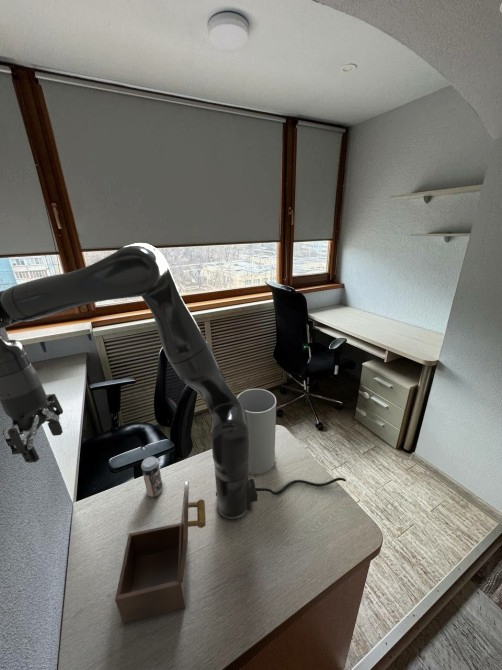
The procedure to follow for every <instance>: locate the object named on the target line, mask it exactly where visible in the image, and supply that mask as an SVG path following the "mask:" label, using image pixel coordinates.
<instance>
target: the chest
mask: <svg viewBox="0 0 502 670" xmlns="http://www.w3.org/2000/svg"><path fill="white" fill-rule="evenodd" d="M180 535H181V522H179V523H178V522H177V523H173V524H168V525H163V526H158V527H153V528H149V529H144V530H138V531H135V532H130V533H128V535H127V539H126V540H127V541H126V544H125V545H126V546H125V550H124V555H123V559H122V564H121V569H120V575H119V579H118V584H117V588H116V594H115V599H114V601H115V604H116V606H117V610H118V612H119V615H120V618H121V620H122V623H123V624H126V623H131V622H134V621H135V622H136V621H138V620H143V619H146V618H149V617H153V616H157V615H161V614H164V613H165V614H166V613H169V612H172V611H176V610H180V609H184V608H186V599H187V598H186V597H187V596H186V590H187V589H186V587H187V559H186V560H185V568H184V576H183V582H182V583H179V562H180Z"/></svg>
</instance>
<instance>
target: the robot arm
mask: <svg viewBox="0 0 502 670" xmlns="http://www.w3.org/2000/svg"><path fill="white" fill-rule="evenodd" d="M138 297H139V298H140V297H141V298H142V300H143V301H144V303H145V304H146V305H147V308H148V309H149V310H150V313H151V315H152V316H153V319H154V321H155V326H156V328H157V333H158V336H159V339H160V340H159V341H160V342H161V343H160V344H161V346H162V349H163V352H164V354H165V356H166V359H167V360H168V362H169V363H170V365H171V367H172V368H173V370H174V372H175V373H176V375H177V376H178V377H179V379H180V380H181V382H183V383H184V384H185V385H187V386H188V387H189V388H191V389H192V390H194V391H195V392H197V393H198V394H199V396H200V397H201V398H202V400H203V401H204V403H205V405H206V407H207V410H208V412H209V414H210V419H211V421H210V442H211V452H212V460H213V466H214V476H215V477H214V478H215V489H216V490H215V491H216V492H215V497H216V505H217V506H216V507H217V510H218V513H219V514H220V516H221V517H223V518H225V519H227V520H239V519H241V518H242V517H244V516H245V515H246V514H247V513H248V512H251V510H252V503H254V502H257V501H258V493H257V492H265V493H266V492H267V493H270V494H271V495H273V496H278V495H281V494H282V493H283V492H284V491H286V489H288V488H289V487H290V486H292V485H294V484H305V485H308V486H312V487H326V486H329V485H331V484H334V483H335V482H338V481H342V482H346V481H347V479H345V478H344V477H336V478H333V479H331V480H329V481H326V482H322V483H315V482H312V481H308V480H304V479H294V480H291V481H289V482H287V484H285V485H284V486H283V487H282V488H281V489H279V490H278V491H273V490H272V489H270V488H265V487H256V484H255V479H254V478H250V473H249V466H248V458H249V428H248V422H247V416H246V412H245V410H244V408H243V406H242V405H241V403H240V402H239V400H238V399H237V396H236V395H235V393H234V392H233V391H232V389H231V387H230V386H229V384H228V382H227V381H226V378H225V376H224V373H223V371H222V368H221V367H220V364H219V363H218V361H217V359H216V357H215V354H214V352H213V350H212V349H211V347H210V345H209V343H208V341H207V339H206V338H205V336H204V334H203V333H202V331H201V329H200V327H199V326H198V323H197V322H196V320H195V318H194V317H193V315H192V313H191V312H190V310H189V308H188V307H187V305H186V304H185V302H184V300H183V298H182V295H181V294H180V291H179V290H178V287H177V285H176V282H175V280H174V277H173V275H172V272H171V269H170V266H169V265H168V262H167V260H166V258H165V257H164V254H162V253H161V252H160V250H159V249H157V248H156V247H154V246H152V245H150V244H149V243H143V242H138V243H133V244H129V245H125V246H123V247H120V248H119V249H118V250H116V251H115V252H113V253H111V254H110V255H108V256H106V257H104V258H102V259H100V260H98V261H96V262H94V263H92V264H89V265H87V266H85V267H82V268H79V269H75V270H73V271H69V272H64V273H58V274H54V275H49V276H44V277H39V278H36V279H32V280H29V281H25V282H22V283H19V284H15V285H13V286H11V287H8V288H7V289H4V290H0V330H2V329H5V328H8V327H10V326H13V325H15V324H19V323H21V322H30V321H36V320H40V319H43V318H47V317H50V316H54V315H57V314H60V313H63V312H67V311H68V310H73V309H76V308H79V307H82V306H86V305H91V304H93V303H94V304H95V303H99V302H105V301H112V300H119V299H129V298H138ZM1 319H2V321H1ZM39 377H40V376H39V375H38V373H37V370H36V369H35V368H34V366H33V365H32V363H31V360H30V358H29V355H28V353H27V351H26V349H25V347H24V345H23V343H22V342H21V341H19V340H16V339H3V338H2V337H1V336H0V401H1V404H2V407H3V409H4V410H3V409H2V410H3V412H4V411H5V412H4V414H5V413H6V414H5V415H6V416H7V417H9V418H10V419H11V425H10V426H9V427H8V428H3V429H4V430H3V435H4V437H5V439H6V442H7V444H8V446H10V447H11V449H12V454H13V455H14V456H15V455H21V457H22V458H23V459H24V462H25V463H29V464H30V463H31V464H33V463H38V461H39V460H40V457H39V454H38V453H37V450H36V449H35V446H33V445H34V438H35V437H36V436H37V431H38V430H39V429H40V427H41V426H42V425H43V424H45V423H46V422H47V427H48V428H49V431H50V433H51V435H52V436H54V437H55V436H56V437H57V436H61V435H62V434H64V432H63V427H62V425H61V422H60V419H61V418H60V415H62V414H63V412H64V409H63V407H62V405H61V404H60V402H59V400H58V397H57V395H56V393H49V394H48V393H46V391H45V389H44V386H43V384H42V382H41V380H40V378H39ZM2 407H1V408H2ZM24 432H26V433H27V432H29V433H28V434H24ZM25 440H26V442H25ZM13 455H12V456H13Z"/></svg>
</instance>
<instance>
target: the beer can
mask: <svg viewBox="0 0 502 670" xmlns="http://www.w3.org/2000/svg"><path fill="white" fill-rule="evenodd" d="M140 468H141V471H142V476H143V481H144V485H145V490H146V494H147V496H148V497H153V498H154V497H158V496H159V495H160V494H161V493H162V492H163V490H164V485H163V479H162V474H161V469H160V464H159V459H158V458H157V457H156V456H154V455H151V456H147V457H145V458H144V459H143V461H141V465H140Z"/></svg>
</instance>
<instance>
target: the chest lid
mask: <svg viewBox="0 0 502 670" xmlns="http://www.w3.org/2000/svg"><path fill="white" fill-rule="evenodd" d="M189 485H190V481H185V482H184V489H183V498H182V506H181V507H182V508H181V517H180V523H181V535H180V562H179V583H182V582H183V576H184V568H185V560H186V561H187V551H188V544H189V543H188V542H189V527H198V528H200V529H202V528H205V527H206V525H207V523H206V522H207V521H206V502H205V500H204V499H199V500H197V501H193V502H189V496H190V495H189V488H190V486H189ZM189 508H196V511H197V512H196V513H197V515H196V517H197V518H196V519H197V520H196V519H195V520H189Z"/></svg>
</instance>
